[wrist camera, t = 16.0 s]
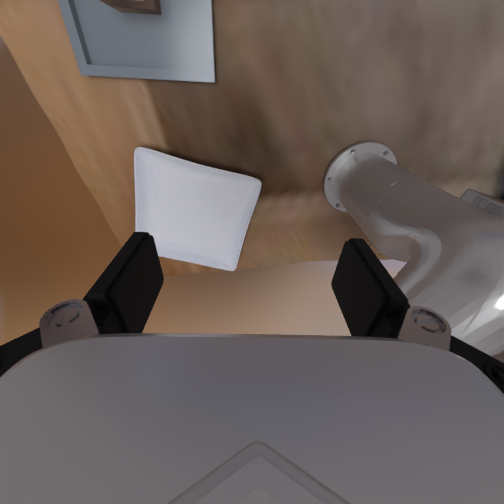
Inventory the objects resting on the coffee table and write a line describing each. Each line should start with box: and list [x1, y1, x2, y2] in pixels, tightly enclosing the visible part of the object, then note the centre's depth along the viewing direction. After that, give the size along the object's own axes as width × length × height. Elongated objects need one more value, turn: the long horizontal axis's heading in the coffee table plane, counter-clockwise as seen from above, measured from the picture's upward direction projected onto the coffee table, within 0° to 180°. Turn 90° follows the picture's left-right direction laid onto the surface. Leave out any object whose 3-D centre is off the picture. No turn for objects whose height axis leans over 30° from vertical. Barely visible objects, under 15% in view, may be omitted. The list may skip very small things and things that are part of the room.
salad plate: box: [134, 147, 262, 271], centre depth 44 cm, size 21×21×3 cm
